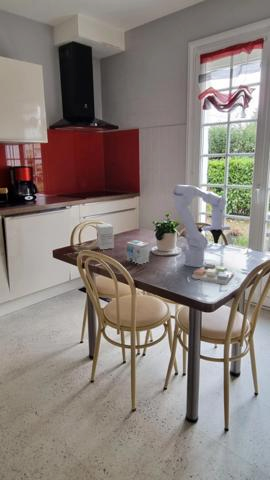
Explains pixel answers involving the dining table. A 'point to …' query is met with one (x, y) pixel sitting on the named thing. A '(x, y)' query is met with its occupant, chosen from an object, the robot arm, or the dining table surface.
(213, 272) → the cream key
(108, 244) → the supplement box
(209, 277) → the light grey tray
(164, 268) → the dining table surface
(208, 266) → the grey key
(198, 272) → the terracotta key
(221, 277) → the slate blue key
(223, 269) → the sage key
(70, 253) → the dining table surface
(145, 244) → the light bulb box
